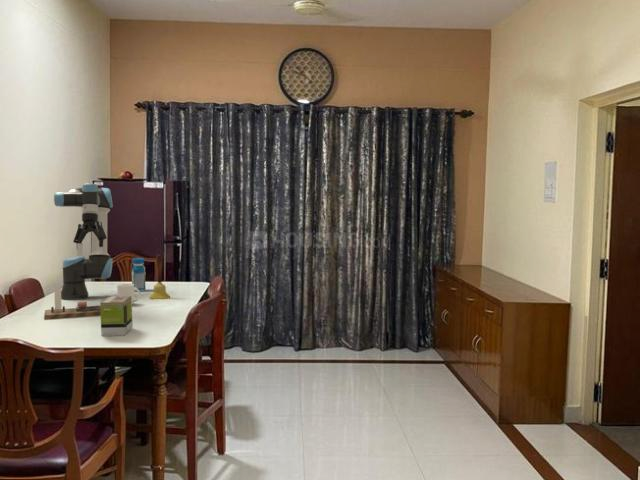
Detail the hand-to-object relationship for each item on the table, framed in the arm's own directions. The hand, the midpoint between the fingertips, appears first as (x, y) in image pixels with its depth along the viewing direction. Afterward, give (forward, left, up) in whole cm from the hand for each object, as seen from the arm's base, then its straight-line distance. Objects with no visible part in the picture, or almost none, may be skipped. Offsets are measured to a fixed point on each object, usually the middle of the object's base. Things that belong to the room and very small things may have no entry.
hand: (89, 254), depth 302 cm
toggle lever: (-7, -15, -26) cm, 31 cm away
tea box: (+41, -35, -29) cm, 61 cm away
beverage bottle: (-15, +65, -29) cm, 73 cm away
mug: (+7, +23, -29) cm, 38 cm away
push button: (+1, -8, -25) cm, 26 cm away
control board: (+2, -7, -29) cm, 30 cm away
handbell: (+11, +47, -29) cm, 56 cm away
